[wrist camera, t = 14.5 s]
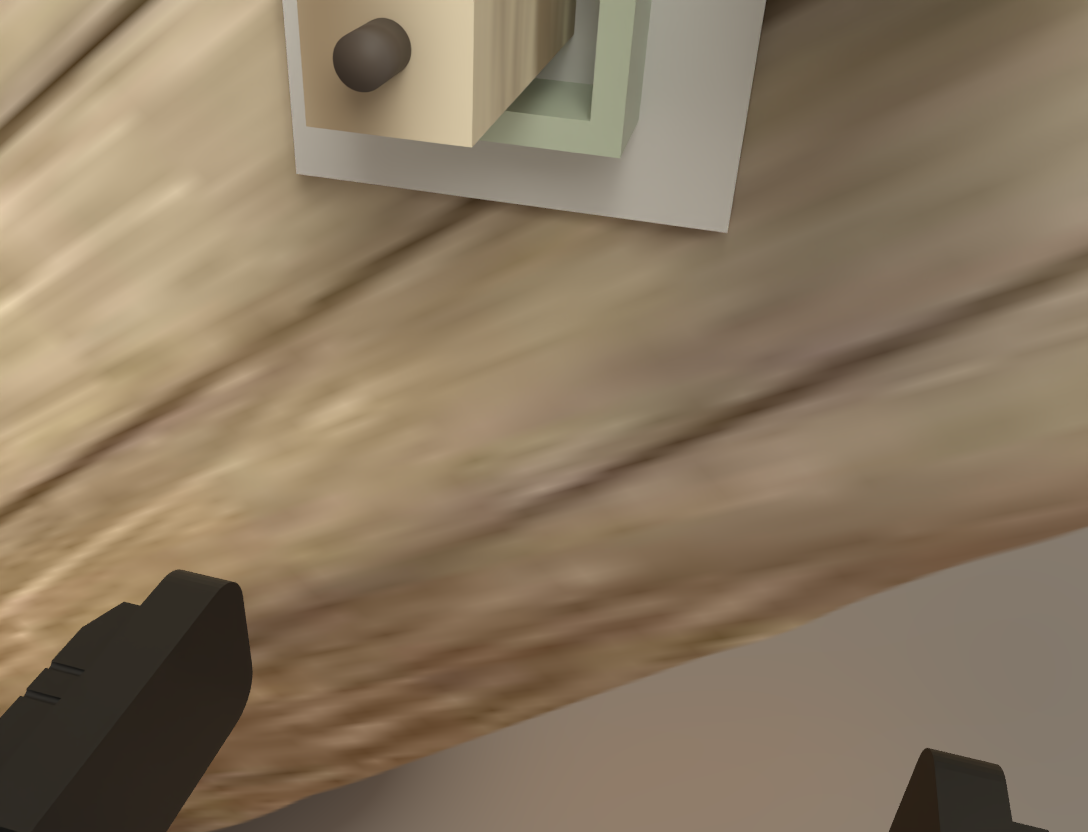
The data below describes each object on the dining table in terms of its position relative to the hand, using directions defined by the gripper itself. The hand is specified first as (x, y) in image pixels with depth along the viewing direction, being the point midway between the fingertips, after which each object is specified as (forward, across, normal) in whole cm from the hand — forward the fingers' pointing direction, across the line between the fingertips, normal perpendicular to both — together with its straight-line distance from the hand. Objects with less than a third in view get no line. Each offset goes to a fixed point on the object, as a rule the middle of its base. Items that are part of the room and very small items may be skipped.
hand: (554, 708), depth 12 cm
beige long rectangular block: (+26, +8, -4) cm, 27 cm away
